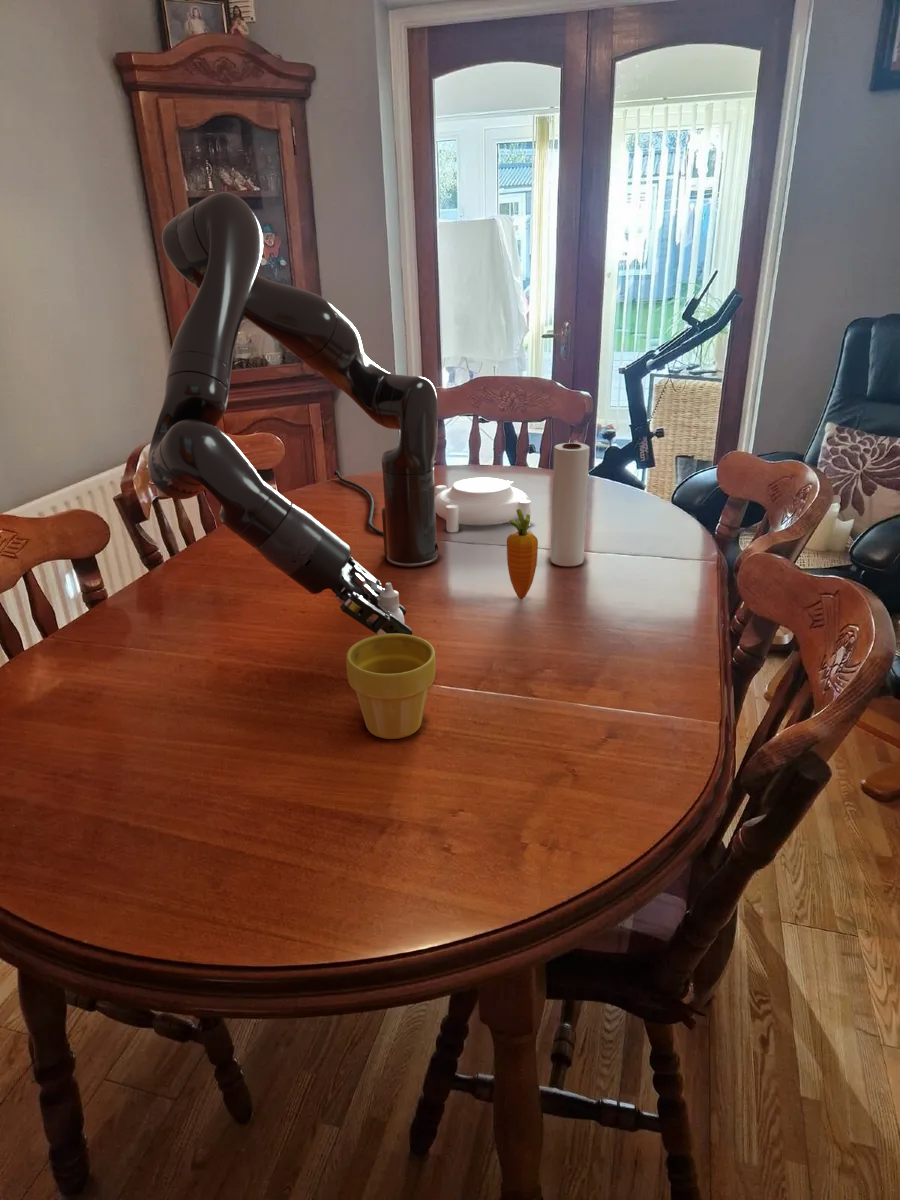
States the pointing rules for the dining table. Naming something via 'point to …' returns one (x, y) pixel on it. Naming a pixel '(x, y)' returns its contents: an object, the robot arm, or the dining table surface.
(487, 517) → the round stand with pegs
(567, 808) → the dining table surface
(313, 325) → the robot arm
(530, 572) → the carrot
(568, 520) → the paper towel roll
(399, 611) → the eye dropper bottle
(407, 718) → the flower pot
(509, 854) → the dining table surface
